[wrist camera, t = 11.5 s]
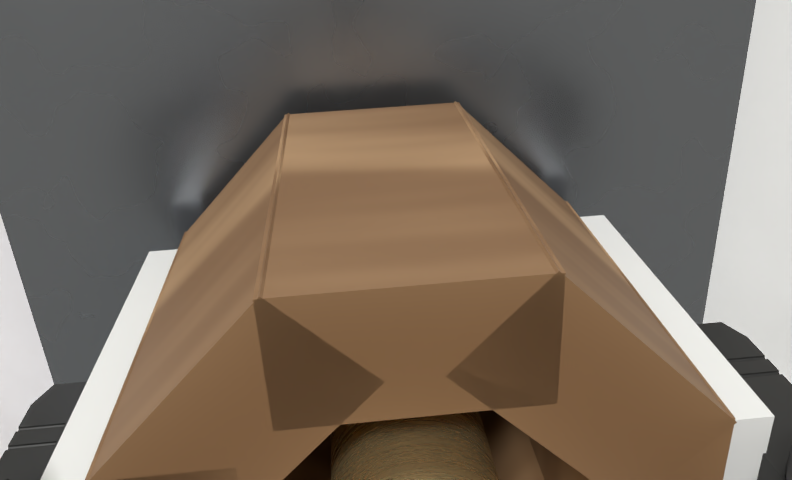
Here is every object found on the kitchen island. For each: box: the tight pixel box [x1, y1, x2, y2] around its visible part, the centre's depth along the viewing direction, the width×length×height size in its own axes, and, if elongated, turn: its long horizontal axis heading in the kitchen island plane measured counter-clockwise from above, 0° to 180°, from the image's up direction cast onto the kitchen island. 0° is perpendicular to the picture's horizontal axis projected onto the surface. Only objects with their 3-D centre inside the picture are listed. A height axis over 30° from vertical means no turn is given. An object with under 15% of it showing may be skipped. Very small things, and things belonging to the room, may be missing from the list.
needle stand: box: [0, 0, 756, 480], centre depth 11 cm, size 16×16×15 cm
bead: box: [85, 101, 737, 480], centre depth 13 cm, size 8×8×7 cm
